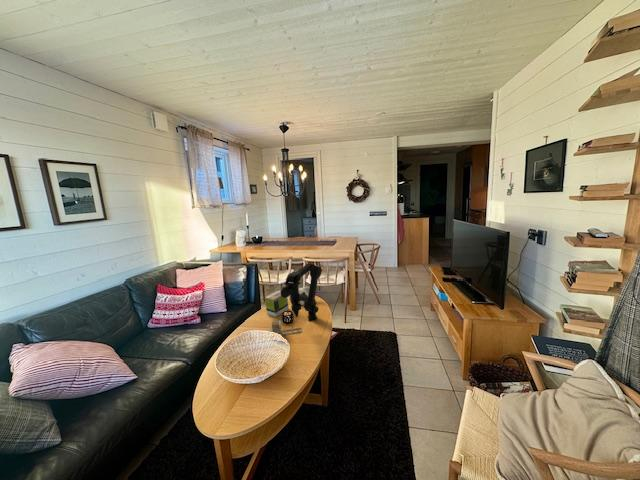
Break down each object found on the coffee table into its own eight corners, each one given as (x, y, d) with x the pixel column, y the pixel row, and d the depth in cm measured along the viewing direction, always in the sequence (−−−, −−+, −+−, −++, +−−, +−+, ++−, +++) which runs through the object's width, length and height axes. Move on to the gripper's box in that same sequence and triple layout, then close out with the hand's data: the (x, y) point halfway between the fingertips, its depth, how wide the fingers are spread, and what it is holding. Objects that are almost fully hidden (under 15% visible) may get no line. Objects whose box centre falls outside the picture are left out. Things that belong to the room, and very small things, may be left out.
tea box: (280, 306, 211) (278, 289, 208) (289, 309, 205) (287, 292, 202) (266, 314, 199) (264, 296, 196) (275, 317, 193) (273, 299, 190)
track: (270, 331, 175) (270, 331, 175) (301, 327, 178) (301, 326, 178) (270, 338, 167) (270, 337, 167) (302, 333, 171) (302, 332, 171)
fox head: (295, 301, 202) (317, 294, 210) (287, 288, 214) (308, 281, 222) (295, 313, 209) (316, 305, 217) (287, 299, 221) (308, 292, 229)
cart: (269, 331, 174) (268, 321, 172) (281, 330, 175) (280, 320, 173) (269, 336, 168) (268, 326, 166) (281, 334, 169) (280, 324, 168)
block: (272, 328, 173) (271, 321, 172) (279, 327, 174) (278, 320, 172) (272, 331, 168) (271, 324, 167) (279, 330, 169) (278, 323, 168)
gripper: (308, 296, 162) (310, 318, 165) (304, 285, 180) (306, 305, 183) (290, 298, 160) (292, 321, 163) (289, 287, 178) (290, 308, 181)
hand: (296, 313), depth 173 cm, fingers open, 9 cm apart
